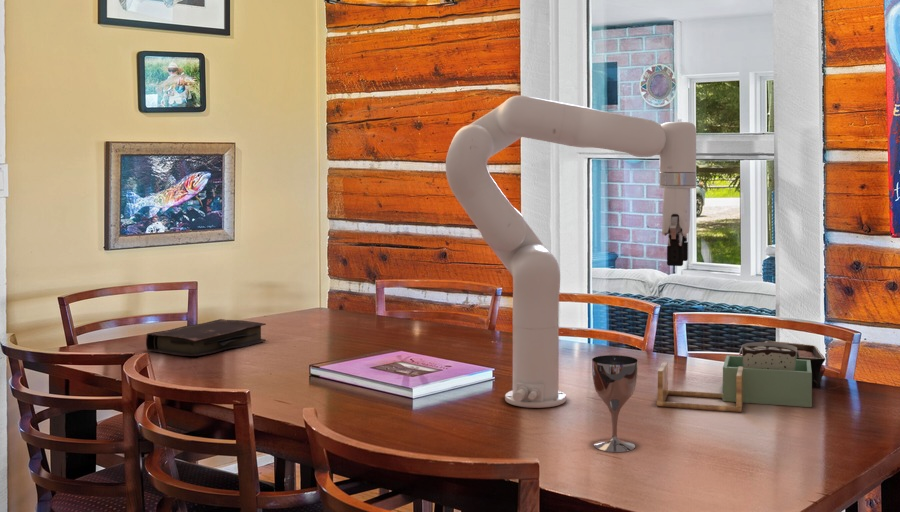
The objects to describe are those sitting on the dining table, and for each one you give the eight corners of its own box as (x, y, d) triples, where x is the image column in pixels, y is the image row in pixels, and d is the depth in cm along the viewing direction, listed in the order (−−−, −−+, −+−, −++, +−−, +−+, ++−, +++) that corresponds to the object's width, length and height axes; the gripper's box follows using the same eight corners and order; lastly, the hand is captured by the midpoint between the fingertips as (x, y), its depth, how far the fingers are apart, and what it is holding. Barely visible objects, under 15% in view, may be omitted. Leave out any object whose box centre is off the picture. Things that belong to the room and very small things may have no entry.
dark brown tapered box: (825, 383, 223) (821, 339, 225) (828, 389, 206) (824, 341, 208) (761, 384, 227) (757, 341, 229) (759, 390, 210) (756, 343, 212)
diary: (145, 351, 248) (145, 331, 249) (218, 335, 270) (218, 317, 270) (196, 359, 239) (196, 338, 239) (268, 342, 261) (268, 323, 261)
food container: (794, 389, 206) (794, 342, 206) (799, 396, 199) (799, 348, 199) (735, 387, 207) (735, 341, 207) (739, 394, 201) (739, 346, 201)
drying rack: (741, 412, 190) (741, 377, 190) (656, 406, 195) (657, 371, 195) (743, 399, 201) (743, 365, 201) (663, 393, 206) (663, 360, 206)
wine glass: (633, 438, 173) (633, 355, 173) (641, 452, 165) (641, 364, 165) (589, 439, 172) (589, 355, 172) (594, 453, 164) (594, 365, 164)
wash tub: (811, 407, 195) (811, 372, 195) (722, 401, 199) (722, 367, 199) (810, 392, 207) (810, 359, 207) (726, 387, 212) (726, 355, 212)
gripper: (664, 180, 211) (664, 258, 211) (654, 182, 194) (654, 267, 194) (699, 180, 209) (699, 259, 209) (692, 182, 192) (691, 268, 192)
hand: (677, 263), depth 201 cm, fingers open, 9 cm apart
